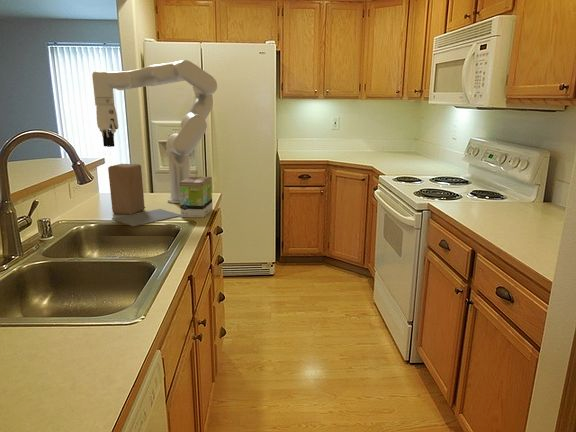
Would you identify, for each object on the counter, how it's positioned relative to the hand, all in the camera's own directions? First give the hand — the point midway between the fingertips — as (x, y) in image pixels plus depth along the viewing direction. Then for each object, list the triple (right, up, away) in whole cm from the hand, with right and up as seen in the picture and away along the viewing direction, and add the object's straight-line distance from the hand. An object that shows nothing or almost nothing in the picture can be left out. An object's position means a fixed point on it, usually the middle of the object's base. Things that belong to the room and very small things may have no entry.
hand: (109, 146), depth 187 cm
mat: (+20, -31, -11) cm, 38 cm away
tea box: (+39, -29, -4) cm, 49 cm away
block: (+9, -29, -1) cm, 30 cm away
